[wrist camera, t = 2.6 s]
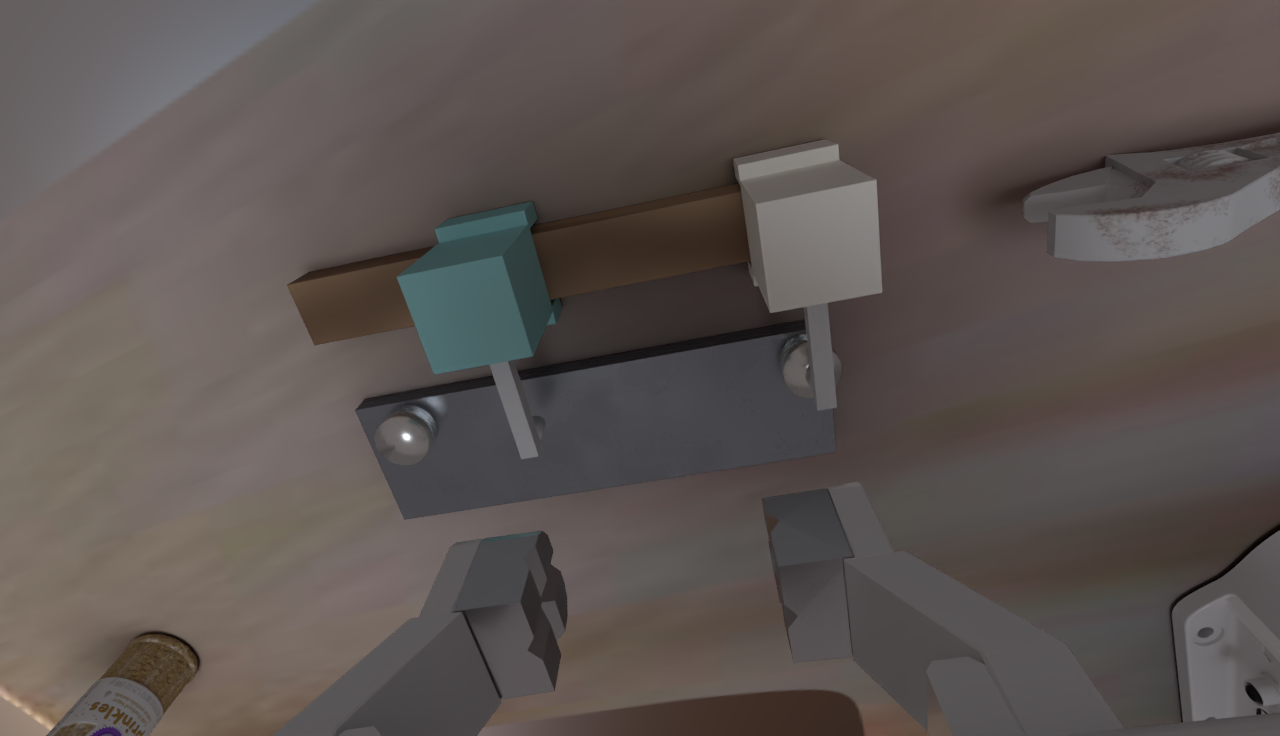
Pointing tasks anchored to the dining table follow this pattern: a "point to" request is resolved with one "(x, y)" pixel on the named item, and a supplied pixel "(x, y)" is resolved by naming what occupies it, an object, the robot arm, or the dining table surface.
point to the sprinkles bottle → (132, 690)
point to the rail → (547, 260)
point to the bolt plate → (604, 422)
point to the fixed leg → (810, 241)
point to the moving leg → (485, 305)
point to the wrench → (1160, 201)
